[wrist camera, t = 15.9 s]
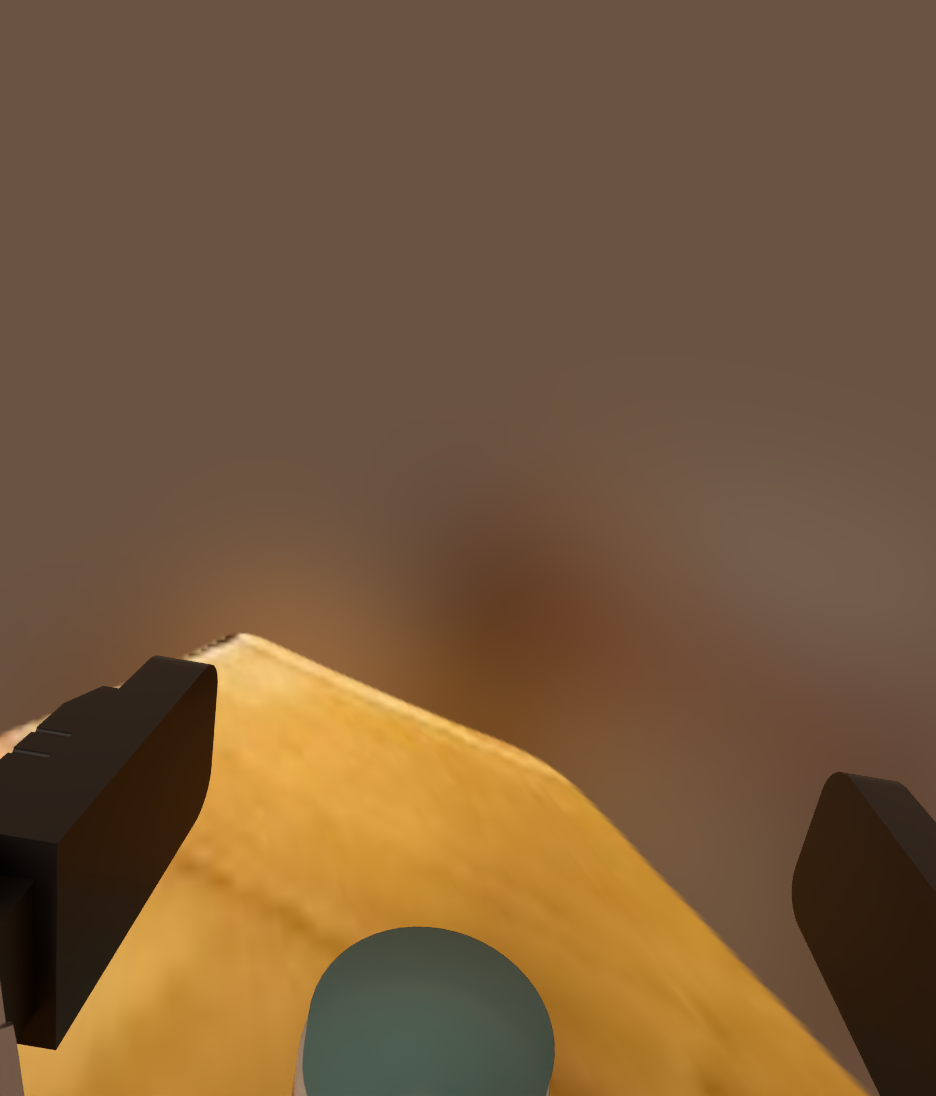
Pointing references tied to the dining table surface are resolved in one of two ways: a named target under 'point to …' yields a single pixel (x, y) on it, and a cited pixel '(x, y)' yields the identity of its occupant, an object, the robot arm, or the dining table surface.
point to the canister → (424, 1022)
